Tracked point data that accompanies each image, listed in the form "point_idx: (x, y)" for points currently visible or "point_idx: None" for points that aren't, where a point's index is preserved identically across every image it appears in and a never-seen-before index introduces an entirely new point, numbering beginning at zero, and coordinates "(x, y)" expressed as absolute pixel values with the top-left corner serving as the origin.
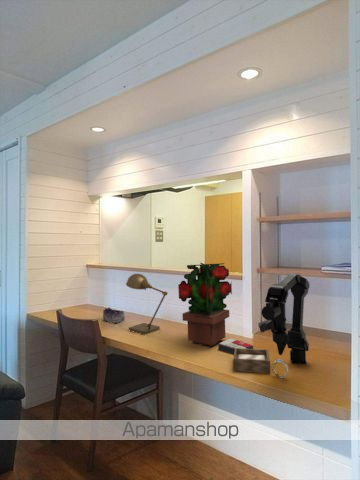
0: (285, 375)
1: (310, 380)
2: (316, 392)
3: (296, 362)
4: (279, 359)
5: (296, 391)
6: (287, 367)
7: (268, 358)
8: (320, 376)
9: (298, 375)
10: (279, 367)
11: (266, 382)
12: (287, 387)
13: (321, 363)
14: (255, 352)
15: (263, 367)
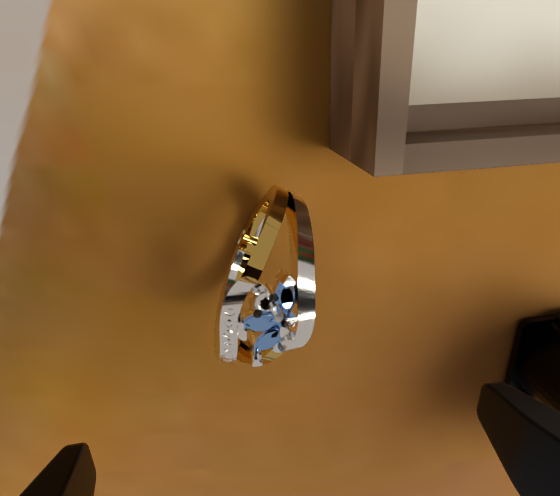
0: (221, 295)
1: (245, 425)
2: None
3: (521, 350)
4: (277, 326)
5: (22, 354)
6: (238, 355)
7: (448, 158)
8: (318, 469)
9: (314, 359)
10: (453, 228)
11: (105, 113)
12: (69, 294)
13: None
14: None
15: (346, 83)
